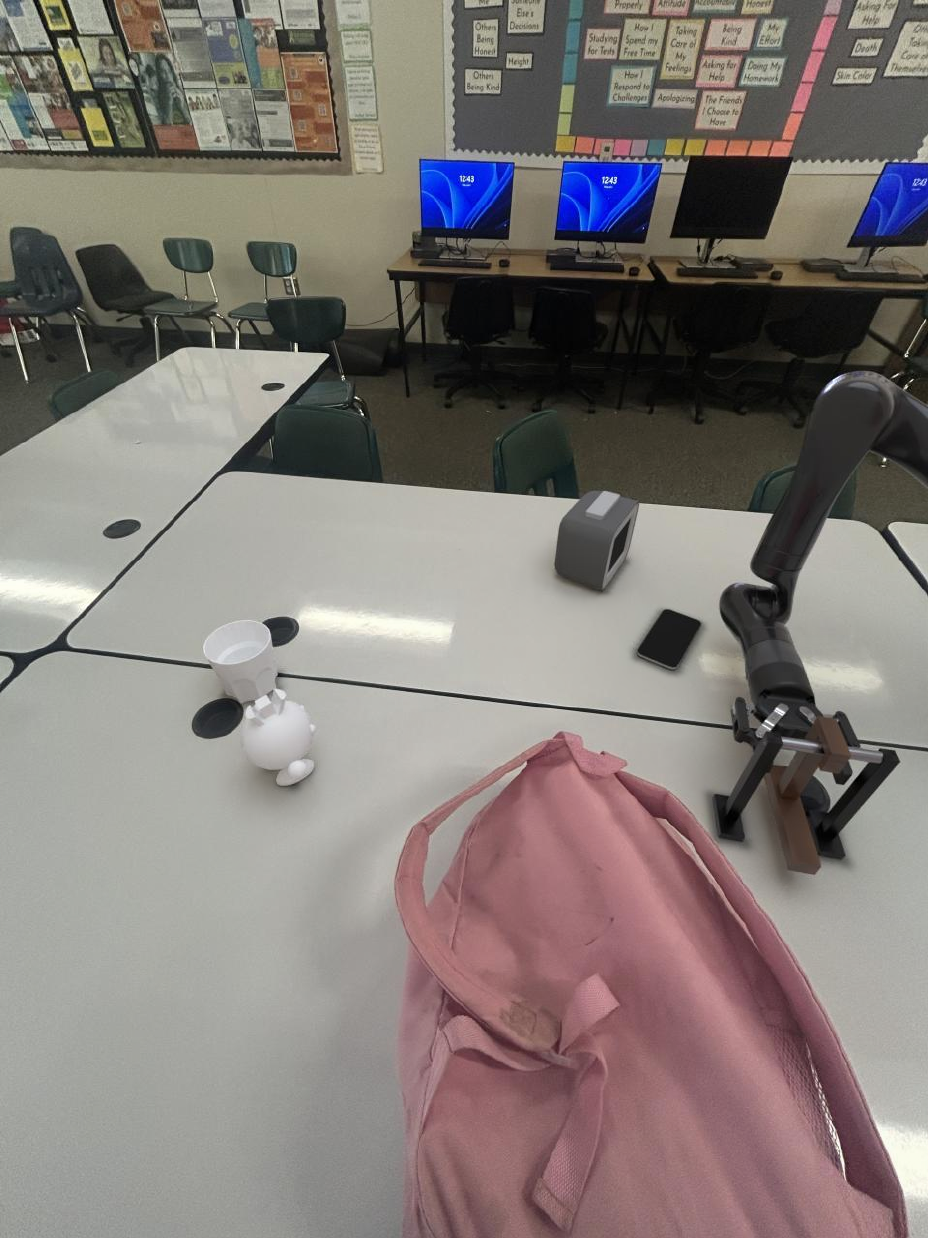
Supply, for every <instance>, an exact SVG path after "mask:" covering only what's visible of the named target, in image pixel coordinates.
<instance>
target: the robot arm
mask: <svg viewBox="0 0 928 1238" xmlns="http://www.w3.org/2000/svg"><path fill="white" fill-rule="evenodd" d="M869 452H871V453H873V454H875V455H877V456H878V457H881V458H884V459H886V460H888V461H890V462H892V463H893V464H895V465H897V466H899V467H900V468H902V469H903V470H904V471H906V472H907V473H908V474H910V475H911V476H912V477H913V478H915V479H916V480H917V481H918V482H919V483H920V484H921V485H922V486H923V487H924V488H925V489H927V490H928V404H926V403H924V402H923V401H922V400H920V399H918V398H917V397H915V396H913V395H912V394H910V393H909V392H908V391H906V390H905V389H903V388H901V387H900V386H899V385H897V384H895V383H894V382H893V381H891V380H890V379H888V378H887V377H885V375H882V374H879V373H877V372H875V371H869V370H856V371H855V370H854V371H851V372H849V371H848V372H847V373H844V374H841V375H839V376H837V377H835V378H834V379H832V380H830V382H828V383H827V384H826V385H825V386H824V387H823V388H822V390H821V391H820V392H819V394H818V395H817V397H815V399H814V401H813V403H812V405H811V406H810V411H809V413H808V421H807V427H806V430H805V434H804V439H803V442H802V446H801V450H800V453H799V457H798V460H797V463H796V465H795V469H794V471H793V474H792V477H791V479H790V481H789V483H788V486H787V487H786V490H785V492H784V493H783V496H782V497H781V499H780V501H779V502H778V505H777V507H776V508H775V510H774V512H773V514H772V515H771V517H770V519H769V521H768V523H767V525H766V526H765V529H764V530H763V533H762V535H761V537H760V540H759V541H758V544H757V546H756V548H755V551H754V552H753V554H752V556H751V559H750V563H749V568H750V571H751V572H752V574H754V576H755V577H757V578H759V579H761V580H762V581H764V582H767V583H769V584H772V585H771V586H764V585H759V584H753V583H752V584H751V583H748V582H734V583H731V584H730V585H728V586H727V587H725V588H724V590H722V593H721V594H720V596H719V600H718V610H719V615H720V617H721V620H722V622H723V623H724V625H725V627H726V628H727V630H728V631H729V632H730V634H731V635H732V637H733V638H734V640H735V641H736V642H737V643H738V645H739V646H740V650H741V653H742V654H741V655H742V658H743V664H744V673H745V676H744V677H745V681H747V686H748V690H749V694H750V698H751V703H749V702H747V701H746V699H745V698H744V697H742V696H737V697H735V700H734V702H733V704H732V707H731V709H730V717H731V726H732V733H733V740H734V741H735V742H736V743H737V744H738V743H739V744H743V743H745V744H747V745H749V747H750V748H751V751H752V754H753V753H754V751H755V750H756V748H757V746H758V744H759V742H760V741H761V739H762V737H763V735H764V734H765V732H766V731H769V732H776V733H781V736H782V737H789V738H796V739H802V740H804V738H805V737H806V735H807V733H808V732H809V730H810V728H811V727H812V725H813V723H814V721H815V720H816V718H817V716H821V717H828V718H835V719H836V720H837V722H838V725H839V727H840V729H841V732H842V734H843V737H844V739H845V741H846V744H847V746H849V747H856V748H862V747H861V743H860V741H859V739H858V737H857V735H856V733H855V730H854V729H853V726H852V724H851V722H850V720H849V718H848V716H847V714H846V713H845V712H844V711H841V710H837V711H836V712H835V713H834V714H827V713H823V712H822V711H821V710H820V709H819V708H818V706H817V705H816V697H815V693H814V691H813V688H812V685H811V682H810V679H809V677H808V674H807V671H806V668H805V666H804V663H803V661H802V659H801V656H800V655H799V653H798V651H797V650H796V647H795V644H794V641H793V638H792V634H791V633H790V631H789V629H788V628H787V626H786V624H787V623H788V622H789V620H790V618H791V615H792V611H793V605H794V599H795V592H796V588H797V583H798V581H799V580H798V579H799V576H800V574H801V571H802V569H803V568H804V566H805V564H806V562H807V560H808V558H809V556H810V554H811V553H812V551H813V549H814V547H815V545H816V543H817V541H818V540H819V539H818V538H819V536H820V534H821V533H822V530H823V528H824V526H825V524H826V522H827V519H828V517H829V514H830V513H831V510H832V508H833V506H834V504H835V503H836V500H837V499H838V497H839V495H840V493H841V492H842V491H843V488H844V487H845V485H846V484H847V482H848V480H849V479H850V477H851V476H852V474H853V473H854V472H855V470H856V469H857V468H858V466H859V465H860V464H861V462H862V461H863V460H864V459H865V457H866V456H867V455H868V453H869ZM750 715H752V716H753V717H754V718H755V719H756V720H757V721H758V722H759V723H760V724H761V725H760V726H759V727H758V728H757V729H756V730H753V729H751V727H750V721H749V717H750ZM850 760H851V759H849V760H848V762H847V763H846V764H845V766H844V767H843V769H842V770H841V771H840V773H839V774H838V773H831V774H832V776H833V780H834V782H835V784H836V785H839V786H845V785H846V783H847V782H848V781H849V780H850V778H851V777H852V776H853V773H854V771H853V768H852V765H851V763H850ZM773 765H775V763H774V761H773V762H772V764H771V766H770V767H769V769H768V771H767V772H766V773H769V772H770V771H771V769H772V767H773Z"/></svg>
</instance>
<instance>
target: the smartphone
mask: <svg viewBox="0 0 928 1238" xmlns="http://www.w3.org/2000/svg"><path fill="white" fill-rule="evenodd" d="M701 626H702V622H701V621H700V620H699V619H697V618H694V617H691V616H689V615H686V614H683V613H680V612H678V611H675V610H673V609H669V608H665V609H662V612H661V613H660V615H659V616H658V617H657V619H656V621H655V622H654V623H653V625H652V627H651V628H650V630H649V631H648V633H647V634H646V635H645V637H644V639H643V640H642V642H641V644H640V645H639V646H638V648H637V650H636V655H638V656H639V657H640V658H643V659H645V660H648V661H649V662H652V663H655V664H657V665H660V666H663V667H664V668H666V669H668V670H676V669H678V667H679V665H680V663H682V660H683V659H684V657H685V655H686V653H687V652H688V650H689V648H690V646H691V644H692V642H693V640H694V639H695V637H696V635H697V634H698V632H699V630H700V628H701Z"/></svg>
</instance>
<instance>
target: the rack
mask: <svg viewBox="0 0 928 1238" xmlns="http://www.w3.org/2000/svg"><path fill="white" fill-rule="evenodd" d="M848 749H849V751H850V753H851V757H850V760H852V761H859V762H864V763H866V764H865V766H864V767H863V769H862V770H861V771H860V772H859V774H857V776H856V777H855V778H854V779H853V781H852V782H851V783H850V785H849V786H848V787H847V789H846V790H845V791H844V792H843V794H842V795H841V796H840V797H839V798H838V799H837V801H836V802H835V804H834V805H833V806H832V807H831V809H830V810H829V811H827V812H826V811H821V810H815V809H806V812H805V814H806V818H807V821H808V824H809V827H810V831H811V834H812V837H813V841H814V844H815V847H816V850H817V854H818V856H821V857H827V858H833V859H838V860H843V859H844V858H845V857H846V852H845V850H844V846H843V843H842V840H841V837H840V833H841V832H842V830H843V829H844V828H845V827H846V826H847V825H848V824H849V822H850V821H851V820H852V819H853V818H854V817H855V815H856V814H857V813H858V812H859V811H860V810H861V808H862V807H863V806H864V805H865V804H866V803H867V801H869V799H870V798H871V797H872V796H873V794H875V792H876V791H877V790H878V789H879V787H881V785H883V783H884V782H885V780H886V779H887V778H888V777H889V776H890V775H891V773H892V772H893V771H894V770H895V769H896V768H897V767H898V765H899V764H900V763H901V760H900V758H899V756H898V753H897V751H896V749H889V748H883V747H882V748H881V747H880V748H878V749H877V750H876V749H875V750H874V749H869V748H862V747H860V748H856V747H849V746H848ZM781 750H786V751H793V752H797V751H799V752H805V753H812V754H818V755H824V754H825V752H824V749H823V747H822V744H821V742H816V741H809V740H802V739H796V738H789V737H782V736H781V733H776V732H769V731H766V732H765V734H764V735H763V737H762V739H761V741H760V742H759V744H758V746H757V748H756V750H755V751H754V753H753V752H752V755H751V757H750V759H749V760H748V761H747V763H746V765H745V767H744V769H743V771H742V773H741V775H740V776H739V777H738V780H737V782H736V783H735V785H734V787H733V789H732V791H731V792H730V794H729V795H725V794H718V793H714V794H713V796H712V803H713V809H714V816H715V823H716V830H717V835H718V838H721V839H724V840H725V839H726V840H731V841H735V842H736V841H737V842H743V841H745V838H746V836H745V831H744V826H743V821H742V814H743V812H744V810H745V808H747V805H748V803H749V802H750V800H751V799H752V797H753V795H754V794H755V792H756V791H757V789H758V788H759V785H760V784H761V782H762V780H764V775H765V774H766V772H767V771H768V769H769V767H770V766H771V764H772V762H773V761H774V760H775V759H776V757H777V756H778V754H779V753H780V751H781Z"/></svg>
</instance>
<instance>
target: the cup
mask: <svg viewBox="0 0 928 1238" xmlns="http://www.w3.org/2000/svg"><path fill="white" fill-rule="evenodd" d="M272 639H273V638H272V634H271V631H270V628H268V626H267V625H266V624H264V623H262V622H260V621H256V620H252V619H251V620H250V619H243V620H236V621H232V622H229V623H226V624H223V625H222V626H220V627H218V628H216V629H215V630H213V631H212V632H211V633H210V634H209V635H208V636H207V638H206V639H205V641H204V642H203V647H202V651H203V655H204V657H205V658H206V659H207V662H208V664H209V666H210V667H211V669H212V671H213V672H214V674H215V675H216V678H217V679H218V681H219V684H220V685H221V686H222V688H223V690H224V692H225V694H226V696H230V697H233V698H234V699H236V700H237V701H238V702H239V704H243V703H245V702H251V701H256V700H258V699H259V698H261V697H263V696H265V695H268V694H270V692H272V691H274V689H278V688H277V684H276V683H277V682H276V678H277V677H278V675H279V672H278V668H277V664H276V659H275V653H274V647H273V646H274V645H273V641H272Z"/></svg>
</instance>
